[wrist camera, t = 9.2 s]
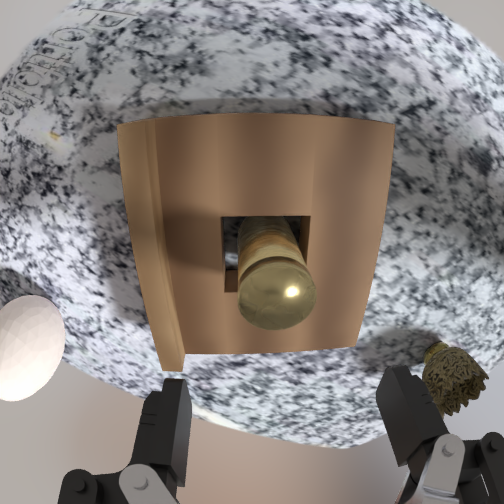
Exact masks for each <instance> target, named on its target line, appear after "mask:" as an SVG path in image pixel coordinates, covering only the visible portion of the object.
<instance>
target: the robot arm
mask: <svg viewBox="0 0 504 504" xmlns="http://www.w3.org/2000/svg"><path fill="white" fill-rule="evenodd" d="M376 402H377V405H378V408H379V411H380V414H381V416H382V419H383V422H384V425H385V428H386V431H387V434H388V436H389V439H390V442H391V445H392V448H393V451H394V454H395V457H396V460H397V464H398V467H400V466H404V465H407V464H408V467H409V470H408V471H407V474H406V476H405V479H404V482H403V484H402V487H401V489H400V492H399V494H398V496H397V499H396V501H395V503H394V504H504V438H503V437H502V435H500V434H499V433H496V432H490V433H487V434H486V435H485V436H484V437H483V438H482V439H481V440H466V441H465V440H461V439H460V438H459V437H458V436H456V435H454V434H450V433H449V432H448V430H447V427H446V426H445V423H444V421H443V419H442V417H441V415H440V412H439V410H438V408H437V406H436V404H435V403H434V400H433V398H432V396H431V395H430V392H429V390H428V388H427V386H426V384H425V383H424V382H423V381H422V380H421V379H420V378H419V377H418V376H417V375H413V376H412V375H411V373H410V371H409V369H408V367H407V366H406V365H398V366H392V367H387V368H386V370H385V372H384V374H383V377H382V379H381V381H380V383H379V386H378V388H377V390H376ZM191 418H192V403H191V398H190V395H189V391H188V387H187V383H186V380H185V379H174V378H165V380H164V383H163V388H162V392H160V391H152V392H151V393H150V394H149V396H148V397H147V398H146V400H145V401H144V404H143V409H142V415H141V417H140V422H139V426H138V430H137V435H136V440H135V444H134V449H133V453H132V458H131V461H130V463H129V464H128V465H127V466H126V467H125V468H124V469H123V470H121V471H119V472H116V473H111V474H100V475H91V473H89V472H87V471H86V470H82V469H75V470H72V471H70V472H68V473H67V474H66V475H65V477H64V479H63V481H62V485H61V490H60V494H59V499H58V504H180V503H179V501H178V500H177V499H176V491H177V486H178V487H185V479H186V467H187V457H188V446H189V437H190V427H191ZM481 474H482V476H483V479H484V482H485V484H486V487H487V490H488V493H489V496H488V494H487V491H486V488H485V485H484V482H483V479H482V476H481Z"/></svg>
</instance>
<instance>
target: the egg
mask: <svg viewBox="0 0 504 504" xmlns="http://www.w3.org/2000/svg"><path fill="white" fill-rule="evenodd" d="M65 336H66V335H65V328H64V323H63V320H62V316H61V314H60V312H59V310H58V308H57V307H56V306H55V305H54V304H53V303H52V302H51V301H50V300H48V299H46V298H44V297H41V296H38V295H26V296H21V297H19V298H16V299H14V300H12V301H10V302H9V303H7V304H6V305H5V306H4V307H3V308H2V309H1V310H0V399H2V400H6V401H18V400H22V399H24V398H27V397H29V396H31V395H32V394H34V393H35V392H36V391H38V390H39V389H40V388H41V387H43V386H44V385H45V384H46V383H47V382H48V381H49V379H50V378H51V377H52V375H53V374H54V372H55V370H56V369H57V367H58V365H59V363H60V360H61V358H62V355H63V351H64V345H65Z"/></svg>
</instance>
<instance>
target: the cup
mask: <svg viewBox="0 0 504 504" xmlns="http://www.w3.org/2000/svg"><path fill="white" fill-rule="evenodd" d="M423 362H424V365H425V368H424V370H423V374H422V381H423V382H424V383H425V384H426V386H427V388H428V390H429V392H430V395H431V396H432V398H433V400H434V403H435V404H436V406H437V408H438V410H439V412H440V415H441V417H442V419H444V412H445V413H446V414H448V415H450V416H452V415H453V411H454V412H456V413H459V411H460V407H461V406H460V403H461V404H463V405H464V406H465V407H467V406H468V403H469V402H468V400H469V399H472V400H476V399H478V398H479V395H480V391H481V390H482V391H484V390H485V389H486V386H485V385H484V383H483V380H485V378H486V379H489V377H488V375H487V374H486V373H485V371H484V370H483V369H482V368H481V367H480V366H479V365H478V363H477V362H476V361H475V360H474V359H473V358H472V357H471V356H470V355H469V354H468V353H467V352H466V351H464V350H463V349H460V348H457V347H449V345H448V344H446V343H444V342H438V343H435V344H434V345H432V346H431V347H429V348H428V349H427V351H426V352H425V354H424V357H423Z"/></svg>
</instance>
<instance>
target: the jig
mask: <svg viewBox="0 0 504 504" xmlns="http://www.w3.org/2000/svg"><path fill="white" fill-rule="evenodd" d="M394 135H395V124H391V123H386V122H381V121H375V120H367V119H359V118H350V117H339V116H328V115H314V114H296V113H213V114H194V115H180V116H169V117H158V118H149V119H142V120H137V121H132V122H127V123H122V124H118V125H117V136H118V148H119V158H120V168H121V177H122V185H123V193H124V200H125V207H126V213H127V220H128V226H129V232H130V238H131V243H132V249H133V254H134V259H135V264H136V269H137V274H138V279H139V283H140V288H141V292H142V296H143V301H144V305H145V309H146V313H147V317H148V321H149V325H150V329H151V332H152V336H153V340H154V343H155V347H156V350H157V354H158V357H159V361H160V364H161V367H162V371H176V372H182V370H183V364H184V358H185V354H257V353H280V352H297V351H311V350H323V349H334V348H344V347H354V346H355V345H356V342H357V338H358V335H359V331H360V328H361V324H362V320H363V317H364V313H365V309H366V305H367V301H368V297H369V293H370V288H371V284H372V280H373V275H374V271H375V266H376V261H377V256H378V251H379V246H380V241H381V235H382V230H383V224H384V218H385V212H386V205H387V198H388V191H389V184H390V176H391V167H392V157H393V147H394ZM226 216H301V221H300V236H299V249H300V252H301V254H302V257H303V259H304V262H305V264H306V267H307V269H308V271H309V272H310V274H311V277H312V279H313V282H314V284H315V287H316V291H317V299H316V304H315V306H314V308H313V310H312V312H311V313H310V314H309V316H308V317H307V318H306V319H304V320H303V321H302V322H300V323H299V324H297V325H295V326H293V327H291V328H287V329H283V330H264V329H260V328H257V327H255V326H253V325H252V324H250V323H249V322H247V321H246V320H245V319H244V318H243V316H242V315H241V313H240V311H239V308H238V302H237V288H238V270H230V271H226V268H225V248H224V225H223V217H226Z"/></svg>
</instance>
